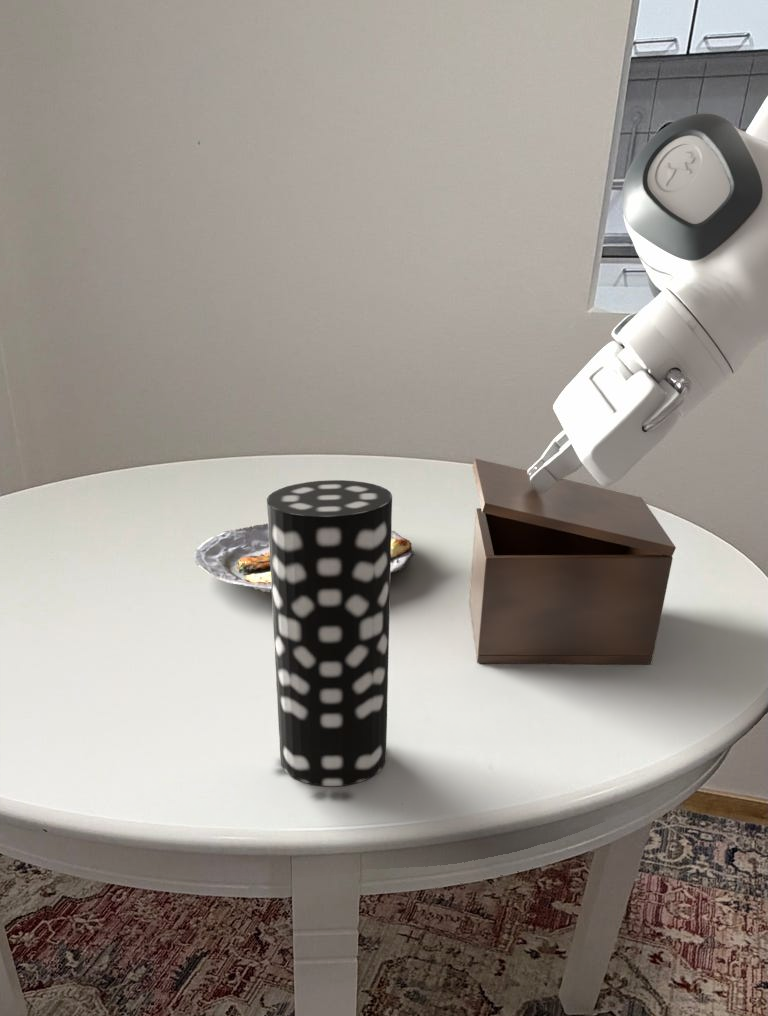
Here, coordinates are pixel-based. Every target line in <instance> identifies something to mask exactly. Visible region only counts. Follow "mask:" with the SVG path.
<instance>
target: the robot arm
mask: <svg viewBox="0 0 768 1016" xmlns="http://www.w3.org/2000/svg"><path fill="white" fill-rule="evenodd" d="M620 196H621V198H620V199H621V201H620V202H621V211H622V215H623V220H624V225H625V227H626V231H627V233H628V235H629V237H630V239H631V242H632V244H633V246H634V250H635V252H636V254H637V256H638V257H639V260H640V262H641V264H642V265H643V267H644V271H645V274H646V279H647V281H648V285H649V289H650V292H651V294H652V296H653V299H652V300H651V301H650V302H648V304H646V305H645V306H644V307H642V309H640V310H639V311H637V312H633V313H631V314H628V315H627V316H626V317H624V318H623V319H622V320H621V321H620V322H619V323H618V324H617V325H616V326H615V327H614V328H613V329H612V331H611V336H612V338H613V339H614V340H612V341H610V342H608V343H607V344H606V345H605V346H603V347H602V348H601V349H600V350H599V351H598V352H597V353H596V354H595V355H594V356H593V357H592V358H591V359H590V360H589V362H587V364H586V365H585V366H584V367H582V369H580V371H579V372H578V374H576V376H575V377H574V378H573V379H571V381H570V382H569V383H568V384H567V385H566V386H565V388H563V390H562V391H561V393H560V394H559V395H558V396H557V399H555V401H554V403H553V405H552V410H553V412H554V414H555V415H556V418H557V419H558V420H559V421H558V422H559V423H560V425H561V427H562V429H563V430H562V431H561V432H559V434H557V435H556V436H555V437H554V438H553V439H552V441H551V442H550V444H549V445H548V446H547V448H546V449H545V450H544V452H543V453H542V455H540V458H539V459H538V460H537V461H536V462H534V464H533V463H532V465H531V466H530V467H529V468H528V469H527V470H526V471H527V474H528V477H529V480H530V483H531V485H532V486H533V487H534V488H535V489H536V490H537V492H539V493H544V492H546V491H547V490H548V489H549V488H550V487H551V486H552V485H553V484H554V483H556V482H557V481H559V480H561V479H564V478H566V477H568V476H570V475H572V474H573V473H575V472H577V471H578V470H579V469H580V468H582V466H584V467H585V468H586V470H587V471H588V472H589V474H590V475H591V476H592V477H593V478H594V479H595V480H596V481H597V482H598V484H599V485H600V486H602V487H603V488H606V487H609V486H611V485H613V484H615V483H617V482H618V481H620V480H621V479H623V478H624V476H626V475H627V474H628V473H629V472H630V471H631V470H632V469H634V467H636V465H638V464H639V463H640V462H641V461H642V460H643V459H644V458H645V457H646V456H648V454H650V452H651V451H652V450H653V449H654V448H656V446H657V445H658V444H660V443H661V441H663V439H664V438H665V437H667V435H668V434H669V433H670V432H671V431H672V430H673V428H675V426H676V425H677V423H678V421H679V419H680V417H681V418H683V417H684V418H685V417H686V416H687V415H688V414H689V413H690V412H692V411H693V410H694V409H695V408H696V407H697V406H698V405H700V404H701V403H702V402H703V401H704V400H705V399H706V398H707V397H709V396H710V395H711V394H713V392H714V391H715V390H717V389H718V388H719V387H720V386H722V384H723V383H724V382H726V381H727V380H729V378H730V377H732V375H734V374H735V373H736V372H737V371H738V370H739V369H740V367H742V365H743V363H744V361H745V360H746V359H747V358H748V356H750V354H751V353H752V352H753V351H754V350H755V349H756V348H757V347H758V346H760V345H761V344H762V343H764V342H765V341H767V340H768V95H767V96H766V97H765V99H764V101H763V102H762V104H761V105H760V107H759V109H758V111H757V112H756V114H755V116H754V118H753V119H752V121H751V123H750V124H749V126H748V127H747V129H746V130H745V131H743V130H742V129H740V128H738V127H736V126H735V125H733V123H732V122H731V121H729V120H728V119H726V118H725V117H723V116H721V115H718V114H714V113H696V114H690V115H686V116H684V117H682V118H681V117H680V119H676V120H675V121H673V122H671V123H670V124H668V125H666V126H665V127H663V128H662V129H660V130H659V131H658V132H657V133H655V134H654V135H653V136H652V137H651V138H649V140H648V141H647V142H646V143H645V144H644V145H643V146H642V147H641V149H640V150H639V151H638V153H637V154H636V155H635V157H634V159H633V161H632V162H631V164H630V165H629V168H628V170H627V172H626V175H625V178H624V180H623V183H622V188H621V195H620Z"/></svg>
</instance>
